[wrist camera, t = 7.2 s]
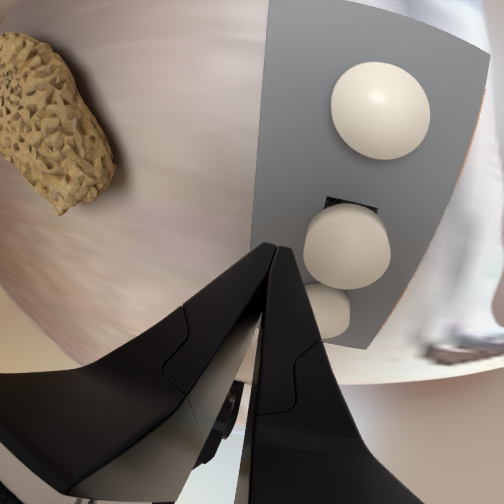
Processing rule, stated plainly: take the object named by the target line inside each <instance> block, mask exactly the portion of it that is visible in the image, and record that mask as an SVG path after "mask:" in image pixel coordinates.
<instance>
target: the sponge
mask: <svg viewBox="0 0 504 504" xmlns="http://www.w3.org/2000/svg"><path fill="white" fill-rule="evenodd" d="M0 153H2V157H3V158H4V159H5V160H6V161H8V162H10V163H12V164H14V165H16V166H17V167H18V169H19V170H20V172H21V173H22V174H23V176H24V177H25V179H26V181H27V183H28V184H29V185H30V186H31V187H32V188H33V189H34V190H35V191H36V192H37V193H39V194H40V195H41V196H43V197H44V198H45V199H47V200H48V201H49V203H50V206H51V207H52V208H53V209H54V210H55V212H56V213H57V214H58V216H61V215H63V214H64V213H65V212H66V211H67V210H68V208H69V207H73V206H76V204H77V203H79V202H80V201H83V202H84V203H85V204H86V203H89V202H92V201H94V200H95V199H96V198H97V197H98V196H99V195H100V194H101V193H102V192H103V191H104V190H106V189H107V188H108V186H109V184H110V181H111V179H112V177H113V175H114V173H115V171H116V164H113V163H112V159H113V156H114V155H113V154H112V152H111V148H110V146H109V144H108V138H107V137H106V135H105V134H104V132H103V130H102V129H101V127H100V126H99V125H98V123H97V120H96V118H95V117H94V115H93V114H92V113H91V111H90V110H89V108H88V107H87V106H86V105H85V103H84V102H83V99H82V98H81V96H80V94H79V92H78V90H77V87H76V84H75V80H74V78H73V76H72V73H71V71H70V69H69V68H68V66H67V65H66V63H65V62H64V61H63V59H62V58H61V57H60V56H59V54H57V53H54V52H52V48H51V46H50V45H49V44H47V43H43V42H40V41H38V40H36V39H34V38H33V37H30V36H28V35H27V34H26V33H13V32H12V31H11V32H8V33H5V34H3V35H1V36H0Z"/></svg>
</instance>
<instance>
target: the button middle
mask: <svg viewBox="0 0 504 504" xmlns="http://www.w3.org/2000/svg"><path fill="white" fill-rule="evenodd" d="M390 257H391V252H390V246H389V241H388V236H387V231H386V228H385V225H384V223H383V221H382V220H381V219H380V217H379V216H378V215H377V214H375V213H374V212H373V211H371V210H370V209H368V208H366V207H364V206H360V205H358V204H356V203H355V202H351V201H340V202H338V203H336V204H335V205H334V206H330V207H328V208H326V209H324V210H322V211H321V212H319V213H318V214H317V215H316V216H315V217H314V218H313V220H312V221H311V222H310V224H309V227H308V230H307V234H306V240H305V246H304V252H303V258H304V263H305V266H306V268H307V270H308V271H309V273H310V274H311V275H312V276H313V277H314V278H315V279H316V280H318V281H319V282H321V283H323V284H325V285H327V286H329V287H333V288H337V289H357V288H362V287H365V286H367V285H370V284H372V283H373V282H375V281H376V280H378V279H379V278H380V277H381V276H382V275H383V274H384V272H385V271H386V269H387V268H388V265H389V263H390Z"/></svg>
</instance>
